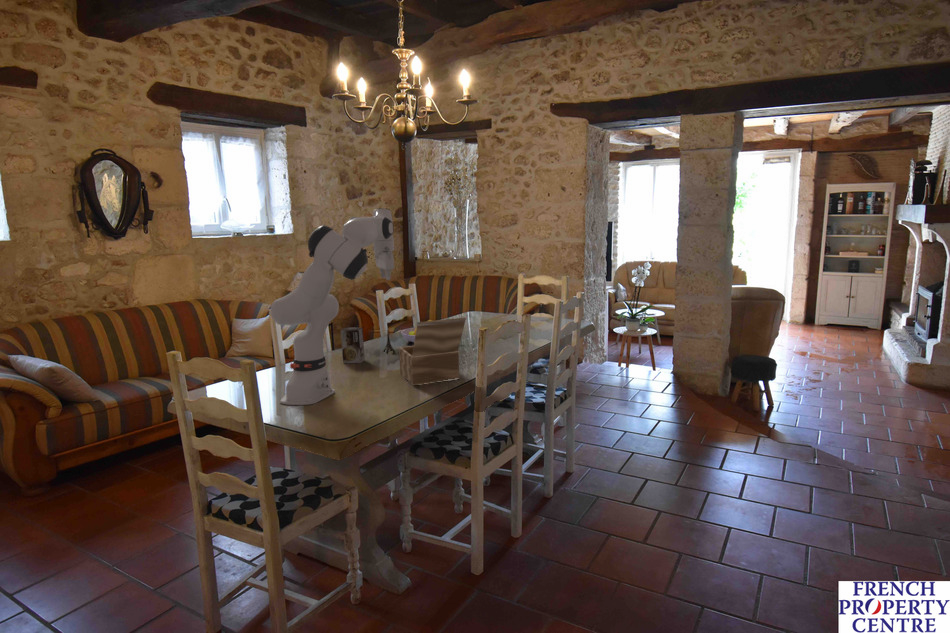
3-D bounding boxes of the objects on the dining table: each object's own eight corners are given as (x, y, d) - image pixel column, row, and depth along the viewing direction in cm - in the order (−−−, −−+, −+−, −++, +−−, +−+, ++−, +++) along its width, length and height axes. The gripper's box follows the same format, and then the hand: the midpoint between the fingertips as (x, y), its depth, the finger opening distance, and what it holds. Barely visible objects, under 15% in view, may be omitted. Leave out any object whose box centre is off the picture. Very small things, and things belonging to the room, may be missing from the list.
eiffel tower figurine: (370, 355, 288) (369, 329, 286) (378, 350, 298) (377, 325, 296) (398, 356, 285) (397, 330, 282) (405, 351, 294) (404, 326, 292)
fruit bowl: (391, 342, 314) (390, 322, 312) (429, 334, 333) (428, 314, 331) (425, 349, 294) (424, 328, 292) (463, 340, 313) (462, 320, 311)
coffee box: (365, 359, 277) (363, 327, 274) (361, 363, 271) (359, 329, 268) (346, 359, 278) (344, 327, 275) (342, 363, 272) (340, 329, 269)
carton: (400, 374, 251) (398, 347, 248) (443, 368, 258) (442, 342, 256) (412, 386, 232) (411, 357, 230) (459, 379, 240) (458, 351, 237)
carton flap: (417, 322, 218) (418, 323, 218) (465, 317, 225) (465, 318, 225) (412, 355, 230) (412, 356, 230) (457, 350, 237) (458, 351, 237)
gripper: (396, 247, 239) (398, 280, 242) (385, 245, 258) (387, 276, 261) (381, 248, 237) (383, 281, 240) (372, 246, 256) (373, 277, 258)
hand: (385, 278), depth 250 cm, fingers open, 8 cm apart
